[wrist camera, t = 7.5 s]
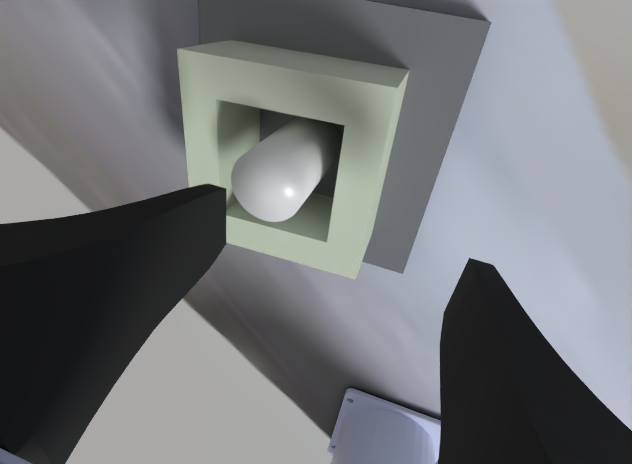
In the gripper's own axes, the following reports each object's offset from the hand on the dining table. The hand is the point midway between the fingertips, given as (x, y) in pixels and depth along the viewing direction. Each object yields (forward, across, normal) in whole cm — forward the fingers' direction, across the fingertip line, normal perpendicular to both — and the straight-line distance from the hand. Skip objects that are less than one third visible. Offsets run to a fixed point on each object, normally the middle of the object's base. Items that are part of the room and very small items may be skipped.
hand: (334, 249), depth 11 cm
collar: (+8, +4, 0) cm, 9 cm away
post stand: (+9, +3, 0) cm, 9 cm away
